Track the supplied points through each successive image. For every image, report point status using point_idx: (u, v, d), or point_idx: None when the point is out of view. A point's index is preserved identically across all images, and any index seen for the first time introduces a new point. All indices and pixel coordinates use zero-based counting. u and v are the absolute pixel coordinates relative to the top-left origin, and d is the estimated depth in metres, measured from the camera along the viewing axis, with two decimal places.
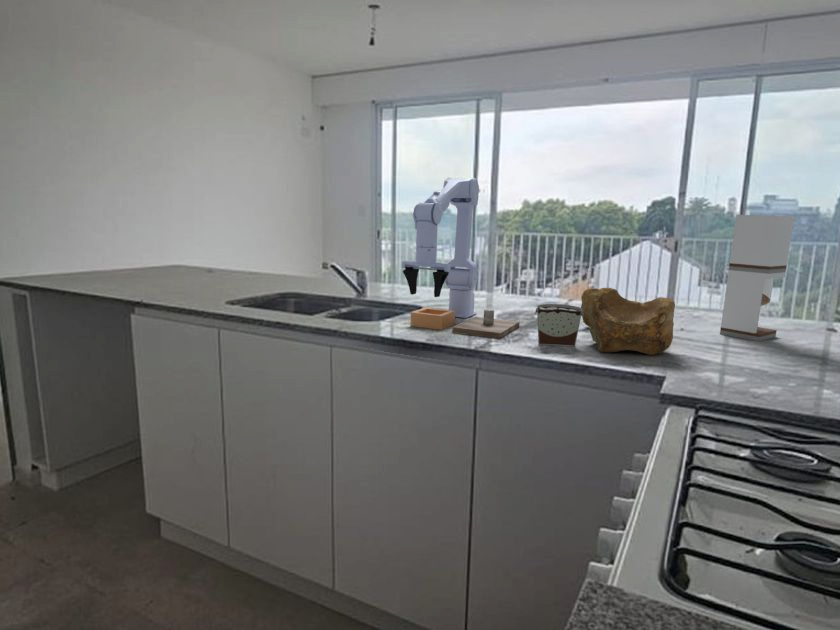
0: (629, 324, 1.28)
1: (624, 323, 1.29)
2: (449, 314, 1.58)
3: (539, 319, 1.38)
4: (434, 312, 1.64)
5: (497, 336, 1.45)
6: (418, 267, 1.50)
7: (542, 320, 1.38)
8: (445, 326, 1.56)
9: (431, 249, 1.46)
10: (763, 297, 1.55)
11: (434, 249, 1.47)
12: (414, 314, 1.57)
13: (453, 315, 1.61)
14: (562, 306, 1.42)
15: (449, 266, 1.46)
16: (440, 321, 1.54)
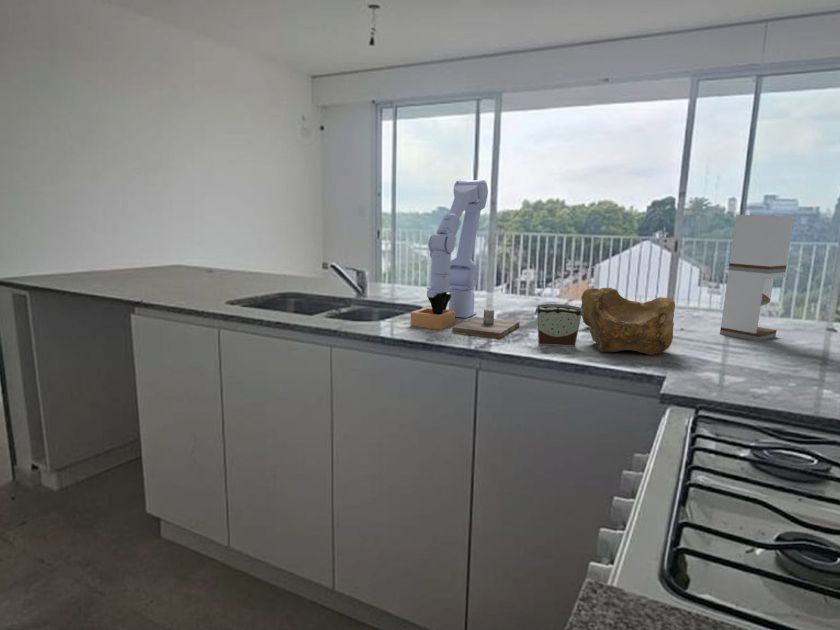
0: (629, 324, 1.28)
1: (624, 323, 1.29)
2: (449, 314, 1.58)
3: (539, 319, 1.38)
4: None
5: (497, 336, 1.45)
6: None
7: (542, 320, 1.38)
8: (445, 326, 1.56)
9: (432, 275, 1.60)
10: (763, 297, 1.55)
11: (435, 276, 1.59)
12: (414, 314, 1.57)
13: (453, 315, 1.61)
14: (562, 306, 1.42)
15: (430, 292, 1.56)
16: (440, 321, 1.54)
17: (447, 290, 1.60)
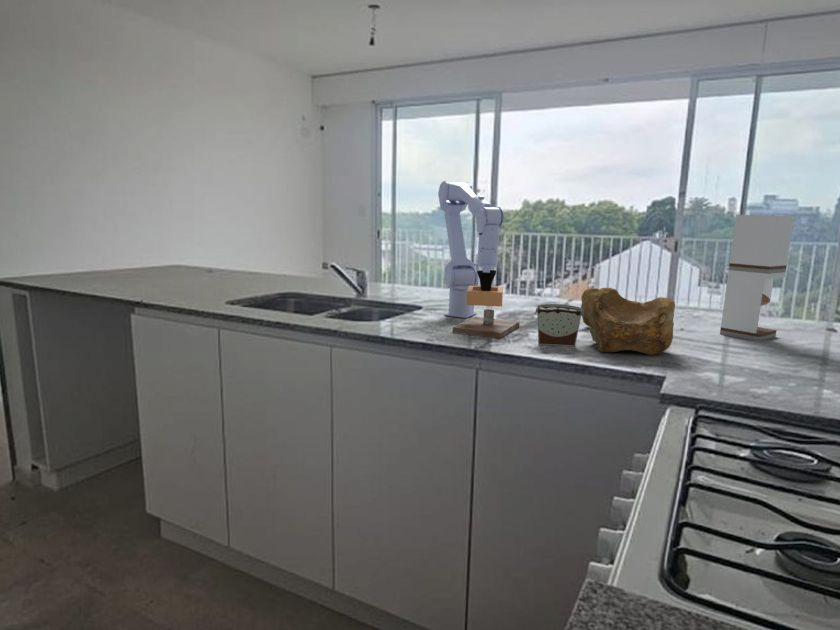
0: (629, 324, 1.28)
1: (624, 323, 1.29)
2: (502, 290, 1.55)
3: (539, 319, 1.38)
4: None
5: (497, 336, 1.45)
6: None
7: (542, 320, 1.38)
8: None
9: (482, 250, 1.55)
10: (763, 297, 1.55)
11: (485, 251, 1.55)
12: (471, 293, 1.51)
13: None
14: (562, 306, 1.42)
15: (486, 267, 1.51)
16: (500, 298, 1.50)
17: (496, 265, 1.57)
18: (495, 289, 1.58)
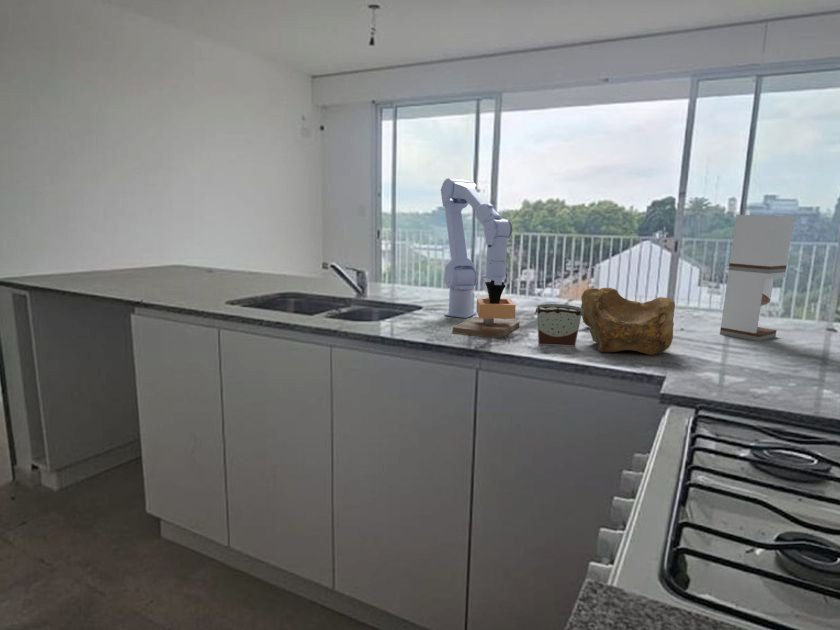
0: (629, 324, 1.28)
1: (624, 323, 1.29)
2: None
3: (539, 319, 1.38)
4: None
5: (497, 336, 1.45)
6: None
7: (542, 320, 1.38)
8: None
9: (492, 262, 1.55)
10: (763, 297, 1.55)
11: (495, 263, 1.55)
12: (484, 306, 1.50)
13: None
14: (562, 306, 1.42)
15: (498, 280, 1.51)
16: (513, 310, 1.51)
17: (505, 277, 1.57)
18: (504, 301, 1.59)
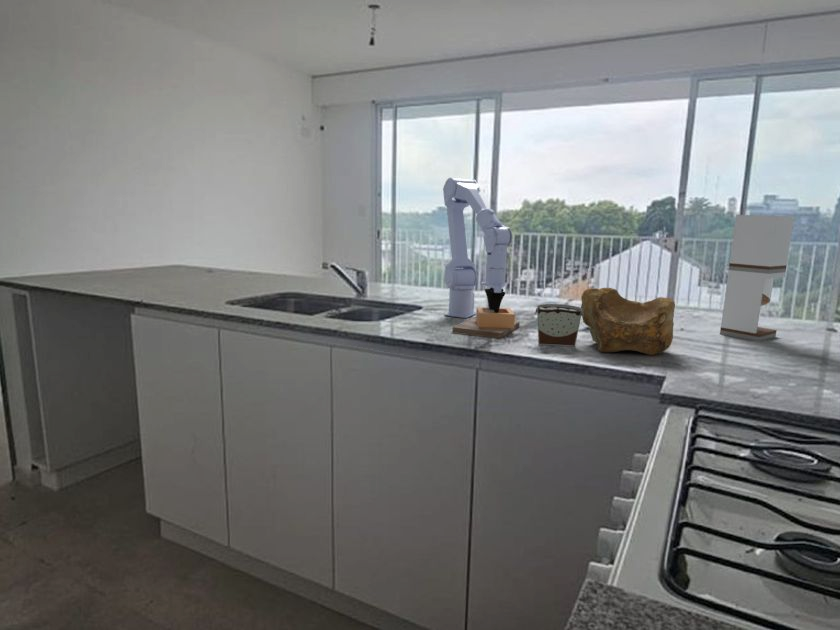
0: (629, 324, 1.28)
1: (624, 323, 1.29)
2: (512, 312, 1.56)
3: (539, 319, 1.38)
4: None
5: (497, 336, 1.45)
6: None
7: (542, 320, 1.38)
8: None
9: (491, 270, 1.56)
10: (763, 297, 1.55)
11: (495, 270, 1.55)
12: (484, 315, 1.51)
13: None
14: (562, 306, 1.42)
15: (498, 287, 1.52)
16: (513, 319, 1.51)
17: (505, 284, 1.58)
18: (503, 310, 1.60)
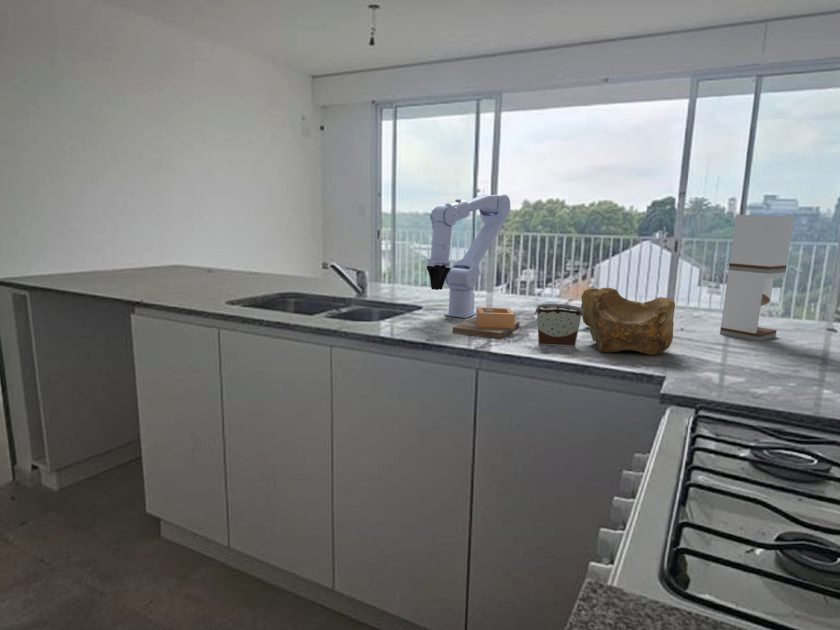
0: (629, 324, 1.28)
1: (624, 323, 1.29)
2: (512, 312, 1.56)
3: (539, 319, 1.38)
4: None
5: (497, 336, 1.45)
6: (440, 264, 1.68)
7: (542, 320, 1.38)
8: None
9: (433, 246, 1.64)
10: (763, 297, 1.55)
11: (435, 247, 1.63)
12: (484, 315, 1.51)
13: None
14: (562, 306, 1.42)
15: (430, 261, 1.59)
16: (513, 319, 1.51)
17: (447, 262, 1.64)
18: (503, 310, 1.60)
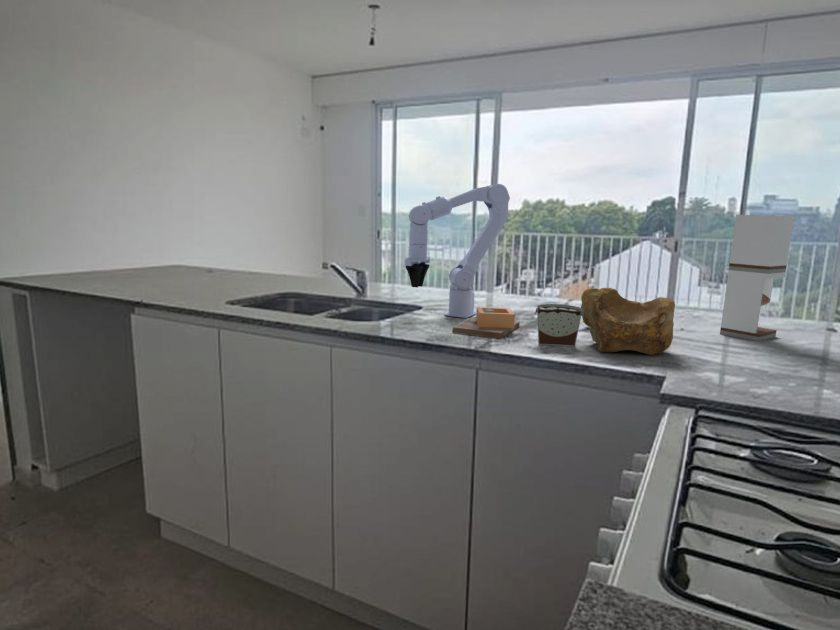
0: (629, 324, 1.28)
1: (624, 323, 1.29)
2: (512, 312, 1.56)
3: (539, 319, 1.38)
4: None
5: (497, 336, 1.45)
6: (419, 262, 1.74)
7: (542, 320, 1.38)
8: None
9: (410, 246, 1.69)
10: (763, 297, 1.55)
11: (413, 246, 1.68)
12: (484, 315, 1.51)
13: None
14: (562, 306, 1.42)
15: (407, 261, 1.65)
16: (513, 319, 1.51)
17: (424, 260, 1.69)
18: (503, 310, 1.60)
